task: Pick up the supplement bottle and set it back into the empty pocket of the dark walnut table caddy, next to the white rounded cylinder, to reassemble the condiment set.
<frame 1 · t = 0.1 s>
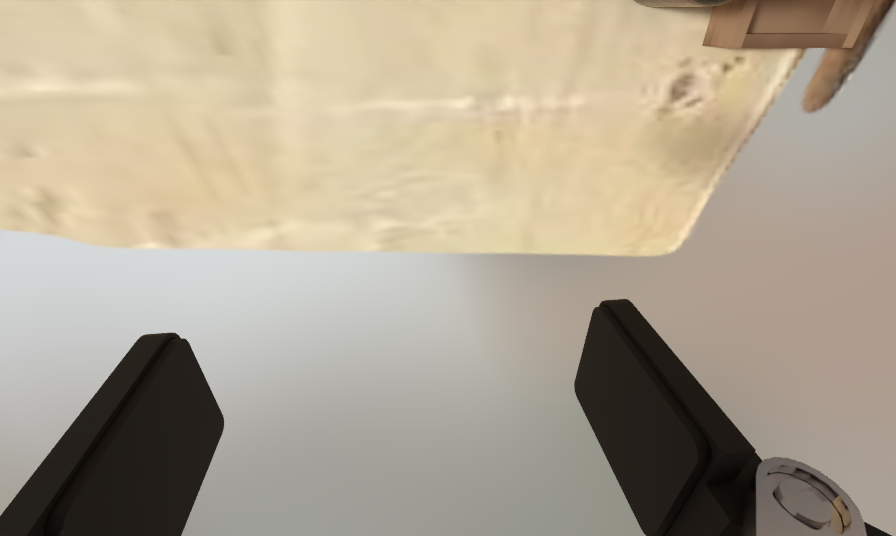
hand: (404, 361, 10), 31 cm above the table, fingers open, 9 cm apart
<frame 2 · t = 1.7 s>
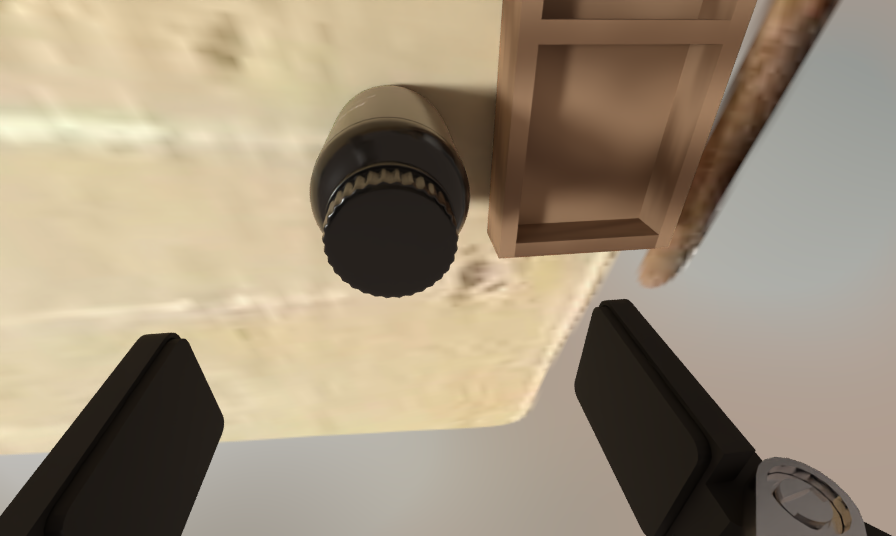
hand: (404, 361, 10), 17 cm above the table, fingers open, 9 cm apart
supplement bottle: (391, 144, 24), on the table
caddy: (602, 29, 22), on the table
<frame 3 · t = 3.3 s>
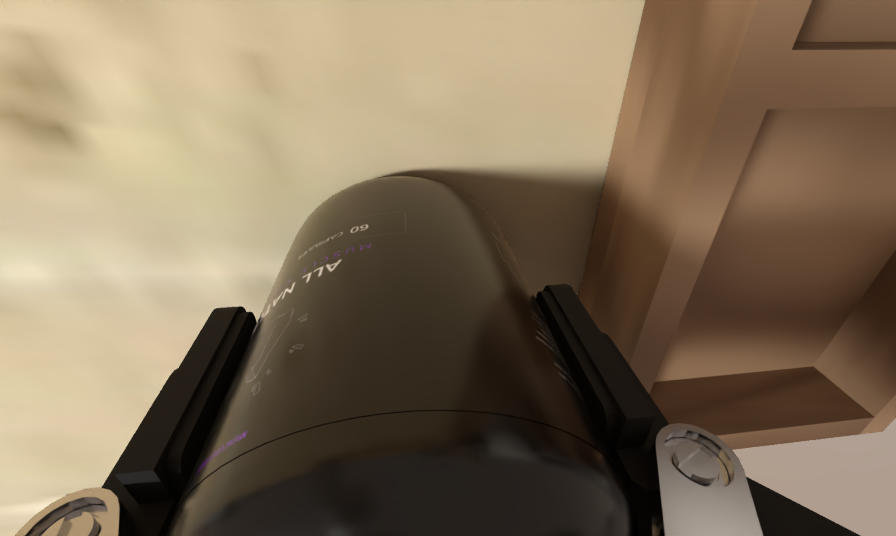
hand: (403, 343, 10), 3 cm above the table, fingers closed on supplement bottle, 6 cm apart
supplement bottle: (401, 269, 13), on the table, touching gripper
caddy: (831, 60, 11), on the table
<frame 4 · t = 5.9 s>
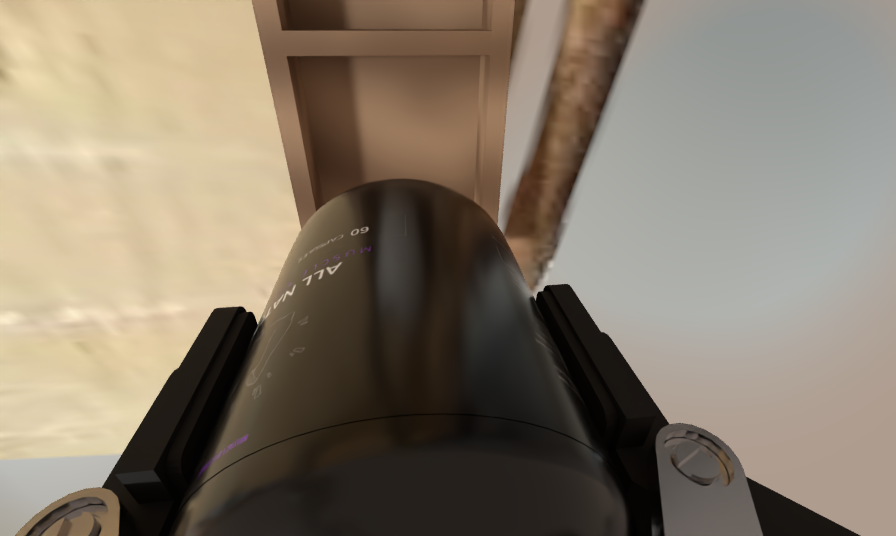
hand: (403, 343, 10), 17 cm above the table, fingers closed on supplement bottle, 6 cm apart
supplement bottle: (401, 271, 13), point 14 cm above the table, touching gripper
caddy: (390, 39, 21), on the table
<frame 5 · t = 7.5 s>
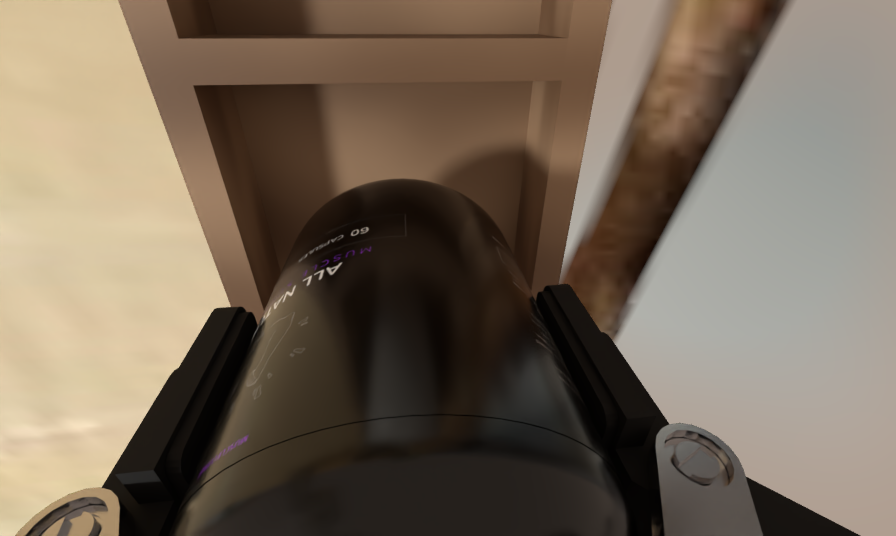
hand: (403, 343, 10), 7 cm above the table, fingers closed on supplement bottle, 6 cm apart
supplement bottle: (402, 271, 13), point 4 cm above the table, touching gripper
caddy: (386, 50, 13), on the table
when the fingers open (5 cm above the table, at t = 8.6 s): supplement bottle stays where it is, resting on caddy.
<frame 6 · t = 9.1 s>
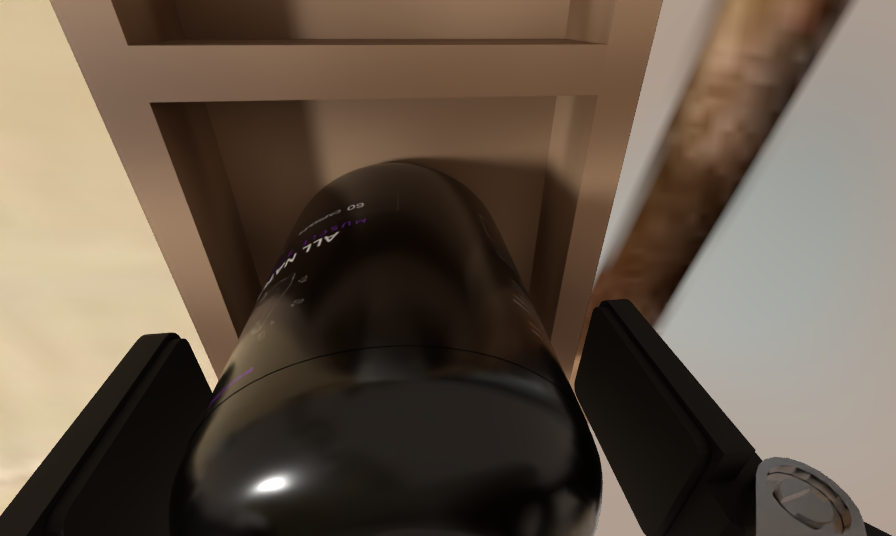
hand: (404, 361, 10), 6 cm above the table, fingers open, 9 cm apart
supplement bottle: (397, 253, 14), point 1 cm above the table, touching caddy
caddy: (386, 57, 11), on the table
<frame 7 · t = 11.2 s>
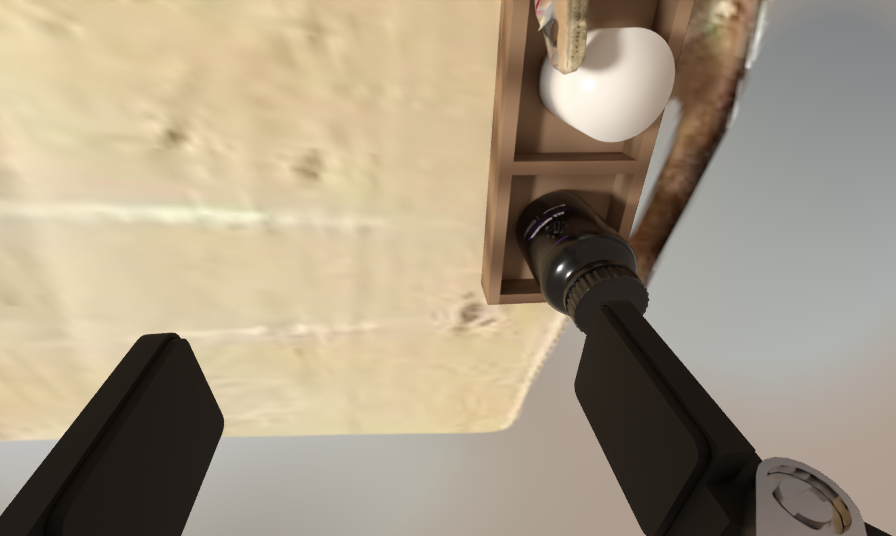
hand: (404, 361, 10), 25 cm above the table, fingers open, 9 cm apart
white rounded cylinder: (577, 77, 29), point 1 cm above the table, touching caddy
supplement bottle: (550, 225, 35), point 1 cm above the table, touching caddy
caddy: (559, 155, 32), on the table
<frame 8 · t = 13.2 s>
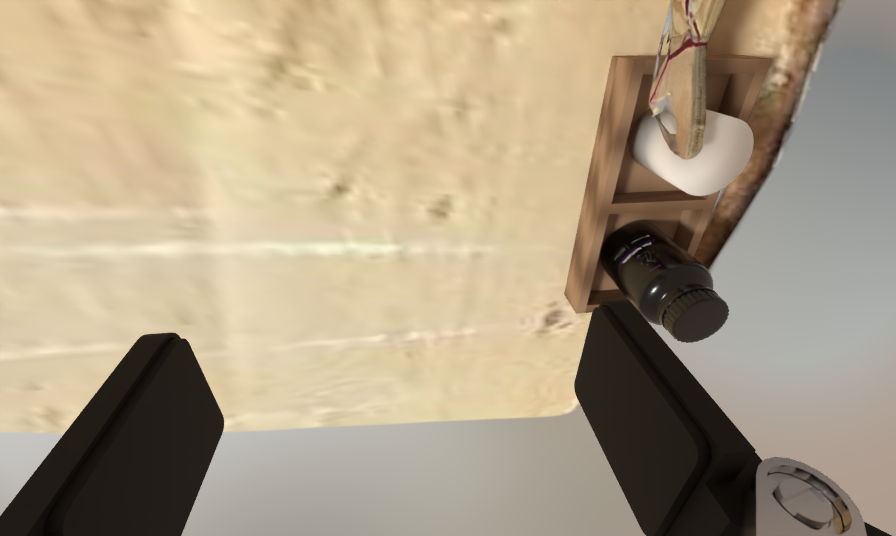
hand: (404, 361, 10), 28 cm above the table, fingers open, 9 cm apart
white rounded cylinder: (661, 135, 36), point 1 cm above the table, touching caddy
supplement bottle: (627, 247, 43), point 1 cm above the table, touching caddy
caddy: (638, 192, 40), on the table
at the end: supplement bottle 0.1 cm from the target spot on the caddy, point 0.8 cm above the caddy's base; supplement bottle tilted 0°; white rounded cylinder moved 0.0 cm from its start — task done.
